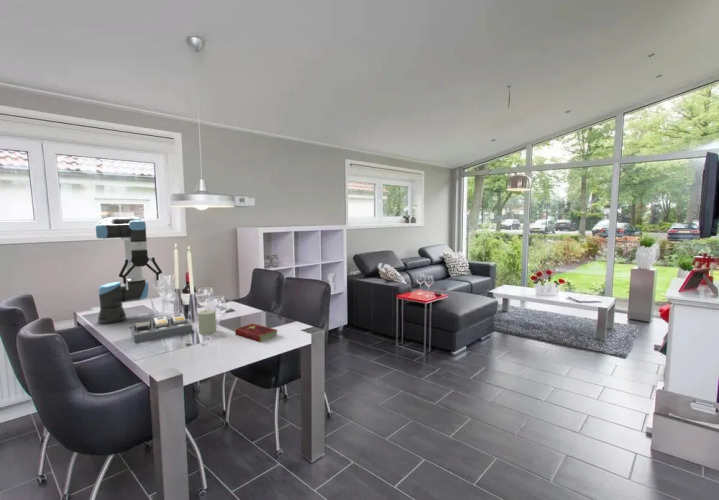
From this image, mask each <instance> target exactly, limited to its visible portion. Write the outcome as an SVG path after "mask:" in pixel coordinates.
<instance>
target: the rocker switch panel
mask: <svg viewBox="0 0 719 500" xmlns="http://www.w3.org/2000/svg"><path fill="white" fill-rule="evenodd" d="M184 317H185V319H186V322H181V323H175V324H174V322H173V320H172V318H171V317H170V318H167V321H168V325H163V326H157V327H156V325H155V322H154V320H153V321H152V322H151V321H149V322H150V325H144V326H138V327H136V323H134V324H133V327H131V328H130V330H131V336H132V339H133V341H134V343H135V344H136V343H141V342H147V341H151V340H156V339H157V340H158V339H163V338H168V337H174V336H179V335H185V334H189V333H193V324H192V323H191V322H190V321H189V320H188V319H187V316H186V315H184Z"/></svg>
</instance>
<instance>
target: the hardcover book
mask: <svg viewBox="0 0 719 500" xmlns="http://www.w3.org/2000/svg"><path fill="white" fill-rule="evenodd" d="M234 330H235V331H234V334H235V336H239V337H241V338H245V339H248V340H251V341H255V342H258V343H262V342H265V341H267V340H270V339H273V338H275V337H277V336H278V329H276V328H272V327H268V326H265V325H261V324H256V323H253V322H252V323H250V324H246V325H243V326H239V327H237V328H235V329H234Z"/></svg>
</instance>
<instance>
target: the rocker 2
mask: <svg viewBox="0 0 719 500" xmlns="http://www.w3.org/2000/svg"><path fill="white" fill-rule="evenodd" d="M184 316H185V315H184V313H176V314H171V317H170V319H171V318H172V321H173V322H174V324H175V323H181V322H186V319H187V318H186V319H185V317H184Z"/></svg>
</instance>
